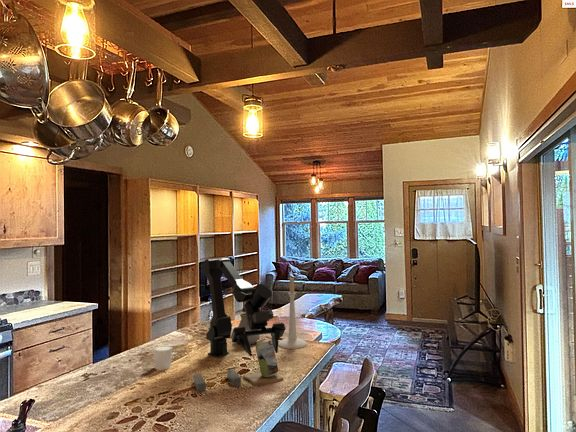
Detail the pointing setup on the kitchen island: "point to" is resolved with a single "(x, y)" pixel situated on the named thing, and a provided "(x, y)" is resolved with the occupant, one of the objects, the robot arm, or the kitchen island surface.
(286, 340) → the candlestick
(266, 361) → the beverage can
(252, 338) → the coffee pot
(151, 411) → the kitchen island surface
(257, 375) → the walnut board
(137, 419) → the kitchen island surface
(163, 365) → the shot glass
